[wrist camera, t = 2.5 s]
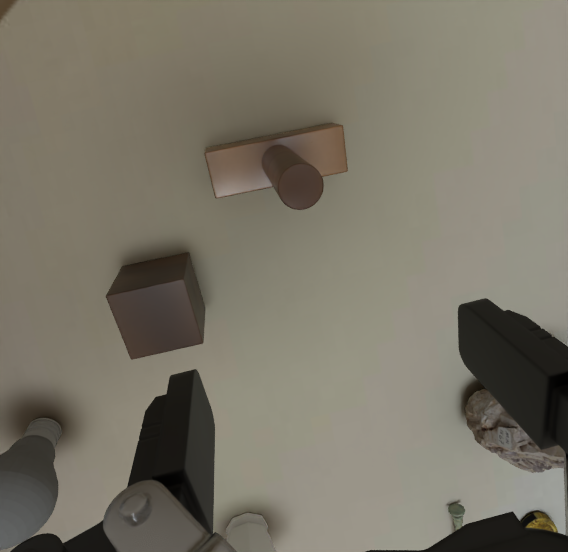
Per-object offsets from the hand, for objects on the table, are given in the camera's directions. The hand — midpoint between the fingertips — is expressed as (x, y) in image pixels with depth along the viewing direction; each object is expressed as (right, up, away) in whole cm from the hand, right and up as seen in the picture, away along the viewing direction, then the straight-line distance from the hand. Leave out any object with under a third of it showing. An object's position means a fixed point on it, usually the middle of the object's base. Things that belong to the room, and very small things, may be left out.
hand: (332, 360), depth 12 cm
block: (-11, +2, +19) cm, 22 cm away
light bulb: (-22, -10, +23) cm, 33 cm away
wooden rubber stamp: (-2, +11, +17) cm, 20 cm away
